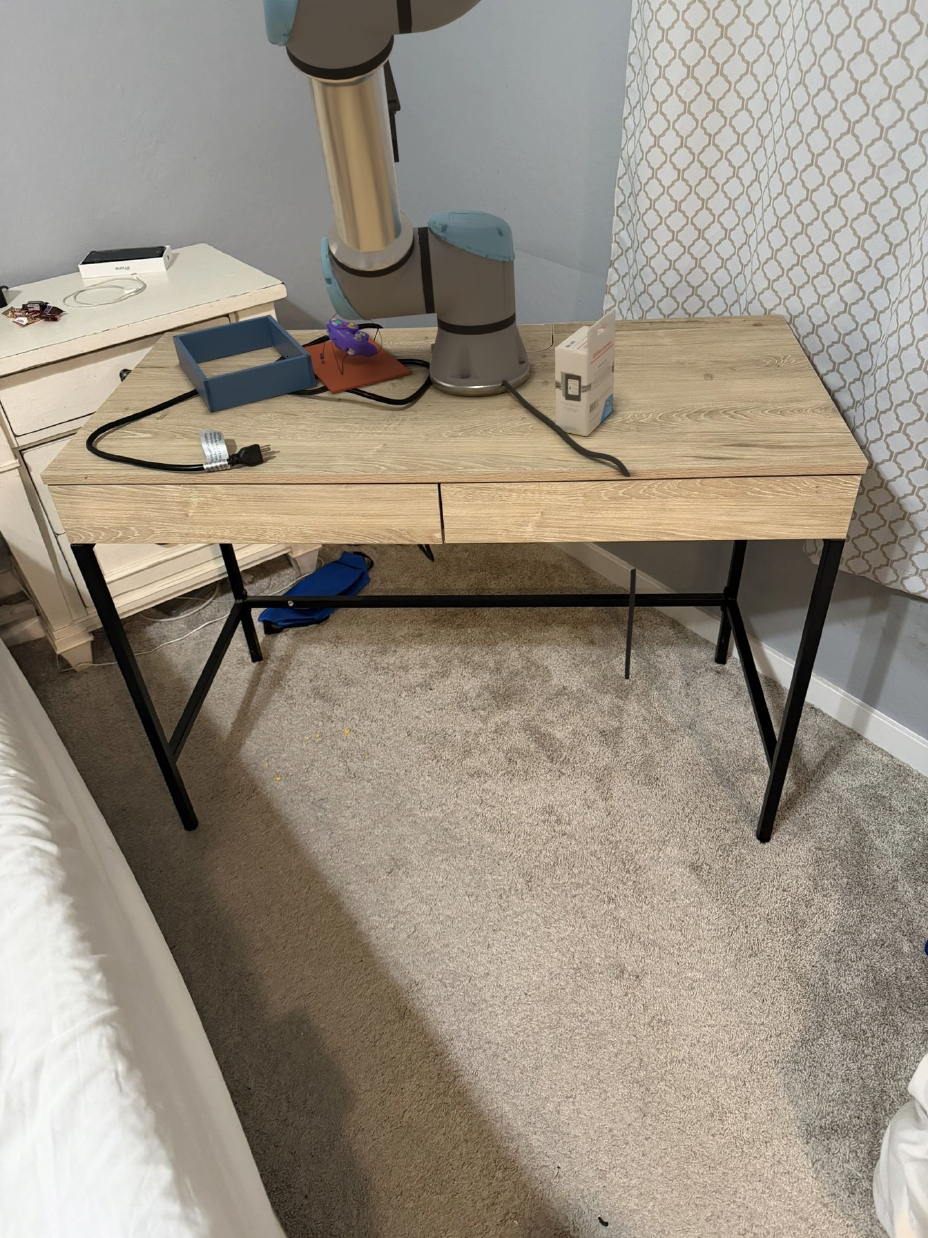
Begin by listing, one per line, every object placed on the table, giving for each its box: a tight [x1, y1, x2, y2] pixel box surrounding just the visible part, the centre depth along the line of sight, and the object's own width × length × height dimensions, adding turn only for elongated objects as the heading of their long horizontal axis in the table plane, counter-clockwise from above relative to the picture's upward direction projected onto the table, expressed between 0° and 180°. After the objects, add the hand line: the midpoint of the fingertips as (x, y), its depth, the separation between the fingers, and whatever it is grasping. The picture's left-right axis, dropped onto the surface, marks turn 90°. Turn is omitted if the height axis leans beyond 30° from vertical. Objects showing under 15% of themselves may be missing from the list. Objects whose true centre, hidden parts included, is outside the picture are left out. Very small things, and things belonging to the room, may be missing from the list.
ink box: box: [554, 308, 617, 437], centre depth 122 cm, size 9×5×15 cm, turn 148°
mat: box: [303, 336, 412, 395], centre depth 148 cm, size 20×13×1 cm, turn 26°
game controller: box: [320, 312, 383, 375], centre depth 147 cm, size 10×8×10 cm
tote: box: [171, 314, 317, 413], centre depth 146 cm, size 22×17×5 cm
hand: (374, 155), depth 146 cm, fingers open, 13 cm apart
